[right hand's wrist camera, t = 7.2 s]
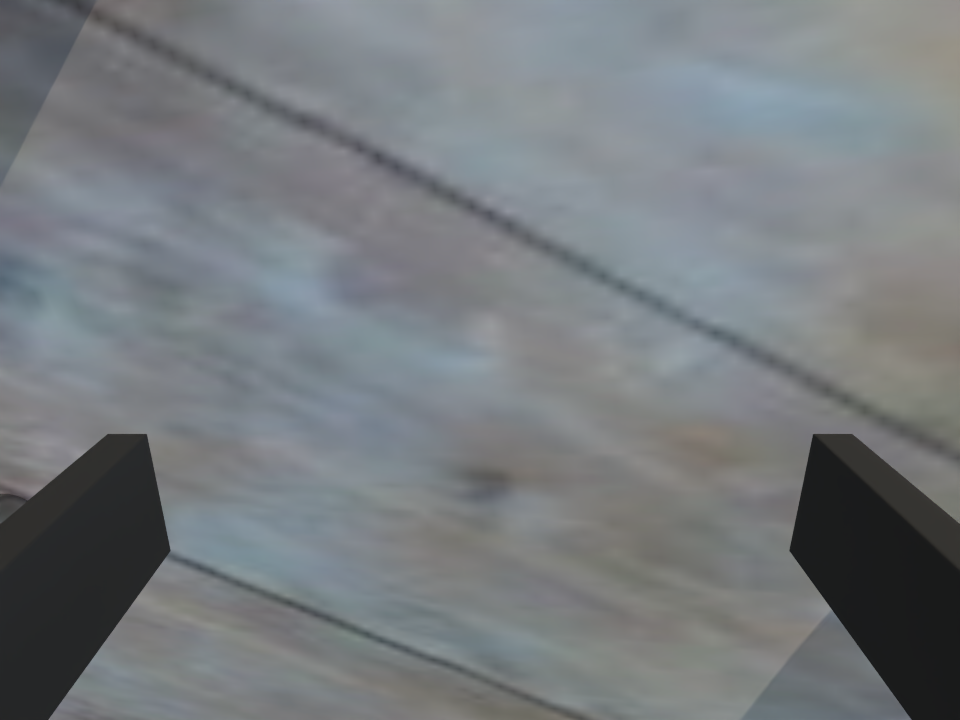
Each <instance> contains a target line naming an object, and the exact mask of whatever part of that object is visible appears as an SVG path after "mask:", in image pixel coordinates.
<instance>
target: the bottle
mask: <svg viewBox="0 0 960 720" xmlns="http://www.w3.org/2000/svg"><path fill="white" fill-rule="evenodd" d="M26 502H27V500H25V499H23V498H21V497H18V496H14V495H8V494H0V524H1V523H2V522H3V521H5V520H6V519H7V518H8V517H9V516H10V515H12V514H13V513H14V512H15V511H16V510H18V509H19V508H20V507H21V506H22V505H24V504H25V503H26Z"/></svg>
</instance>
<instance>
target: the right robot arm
mask: <svg viewBox="0 0 960 720" xmlns="http://www.w3.org/2000/svg"><path fill="white" fill-rule="evenodd" d="M169 552H170V546H169V541H168V536H167V531H166V526H165V521H164V516H163V511H162V507H161V502H160V497H159V492H158V487H157V482H156V477H155V472H154V467H153V462H152V457H151V453H150V448H149V443H148V438H147V434H107V435H106V436H105V437H104V438H103V439H101V440H100V441H99V442H98V443H97V444H95V445H94V446H93V447H92V448H91V449H89V450H88V451H87V452H86V453H85V454H83V455H82V456H81V457H80V458H79V459H78V460H76V461H75V462H74V463H73V464H72V465H70V466H69V467H68V468H67V469H66V470H64V471H63V472H62V473H61V474H60V475H58V476H57V477H56V478H55V479H54V480H52V481H51V482H50V483H49V484H48V485H46V486H45V487H44V488H43V489H42V490H40V491H39V492H38V493H37V494H36V495H34V496H33V497H32V498H31V499H30V500H28V501H27V502H26V503H25V504H24V505H22V506H21V507H20V508H19V509H18V510H16V511H15V512H14V513H13V514H12V515H10V516H9V517H8V518H7V519H6V520H5V521H3V522H2V523H1V524H0V720H48V719H49V718H50V716H51V715H52V714H53V712H54V711H55V710H56V708H57V707H58V705H59V704H60V703H61V701H62V700H63V699H64V697H65V696H66V694H67V693H68V692H69V690H70V689H71V687H72V686H73V685H74V683H75V682H76V681H77V679H78V678H79V676H80V675H81V674H82V672H83V671H84V670H85V668H86V667H87V665H88V664H89V663H90V661H91V660H92V658H93V657H94V656H95V654H96V653H97V652H98V650H99V649H100V647H101V646H102V645H103V643H104V642H105V641H106V639H107V638H108V636H109V635H110V634H111V632H112V631H113V629H114V628H115V627H116V625H117V624H118V623H119V621H120V620H121V618H122V617H123V616H124V614H125V613H126V612H127V610H128V609H129V607H130V606H131V605H132V603H133V602H134V600H135V599H136V598H137V596H138V595H139V594H140V592H141V591H142V589H143V588H144V587H145V585H146V584H147V582H148V581H149V580H150V578H151V577H152V576H153V574H154V573H155V571H156V570H157V569H158V567H159V566H160V565H161V563H162V562H163V560H164V559H165V558H166V556H167V555H168V553H169ZM790 552H791V553H792V555H793V556H794V558H795V559H796V560H797V562H798V563H799V565H800V566H801V567H802V569H803V570H804V571H805V573H806V574H807V576H808V577H809V578H810V580H811V581H812V583H813V584H814V585H815V587H816V588H817V589H818V591H819V592H820V594H821V595H822V596H823V598H824V599H825V600H826V602H827V603H828V605H829V606H830V607H831V609H832V610H833V612H834V613H835V614H836V616H837V617H838V618H839V620H840V621H841V623H842V624H843V625H844V627H845V628H846V629H847V631H848V632H849V634H850V635H851V636H852V638H853V639H854V641H855V642H856V643H857V645H858V646H859V647H860V649H861V650H862V652H863V653H864V654H865V656H866V657H867V658H868V660H869V661H870V663H871V664H872V665H873V667H874V668H875V670H876V671H877V672H878V674H879V675H880V676H881V678H882V679H883V681H884V682H885V683H886V685H887V686H888V687H889V689H890V690H891V692H892V693H893V694H894V696H895V697H896V699H897V700H898V701H899V703H900V704H901V705H902V707H903V708H904V710H905V711H906V712H907V714H908V715H909V716H910V718H911V719H912V720H960V524H959V523H958V522H957V521H955V520H954V519H953V518H952V517H951V516H950V515H948V514H947V513H946V512H945V511H944V510H942V509H941V508H940V507H939V506H938V505H936V504H935V503H934V502H933V501H932V500H930V499H929V498H928V497H927V496H926V495H924V494H923V493H922V492H921V491H920V490H918V489H917V488H916V487H915V486H914V485H912V484H911V483H910V482H909V481H908V480H906V479H905V478H904V477H903V476H902V475H900V474H899V473H898V472H897V471H896V470H894V469H893V468H892V467H891V466H890V465H888V464H887V463H886V462H885V461H884V460H882V459H881V458H880V457H879V456H878V455H877V454H875V453H874V452H873V451H872V450H871V449H869V448H868V447H867V446H866V445H865V444H863V443H862V442H861V441H860V440H859V439H857V438H856V437H855V436H854V435H853V434H813V438H812V443H811V448H810V453H809V457H808V462H807V467H806V472H805V477H804V482H803V487H802V492H801V497H800V502H799V506H798V511H797V516H796V521H795V526H794V531H793V536H792V541H791V546H790Z"/></svg>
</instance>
